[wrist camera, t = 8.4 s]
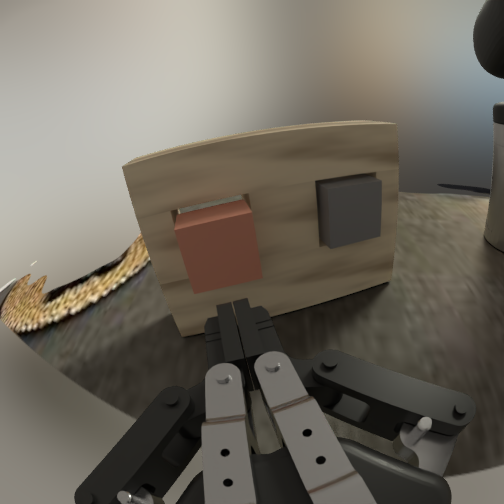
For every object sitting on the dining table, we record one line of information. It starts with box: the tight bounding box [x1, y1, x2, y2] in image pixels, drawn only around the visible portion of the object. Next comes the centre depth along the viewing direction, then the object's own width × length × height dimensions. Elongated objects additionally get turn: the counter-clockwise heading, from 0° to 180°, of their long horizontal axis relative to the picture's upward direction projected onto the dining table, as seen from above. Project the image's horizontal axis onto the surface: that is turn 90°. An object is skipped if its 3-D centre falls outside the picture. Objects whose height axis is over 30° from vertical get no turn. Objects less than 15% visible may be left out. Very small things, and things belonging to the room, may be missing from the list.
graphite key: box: [315, 173, 382, 249], centre depth 22 cm, size 3×5×5 cm, turn 101°
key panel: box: [122, 120, 399, 337], centre depth 24 cm, size 5×22×16 cm, turn 101°
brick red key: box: [174, 199, 263, 294], centre depth 20 cm, size 3×5×5 cm, turn 101°
